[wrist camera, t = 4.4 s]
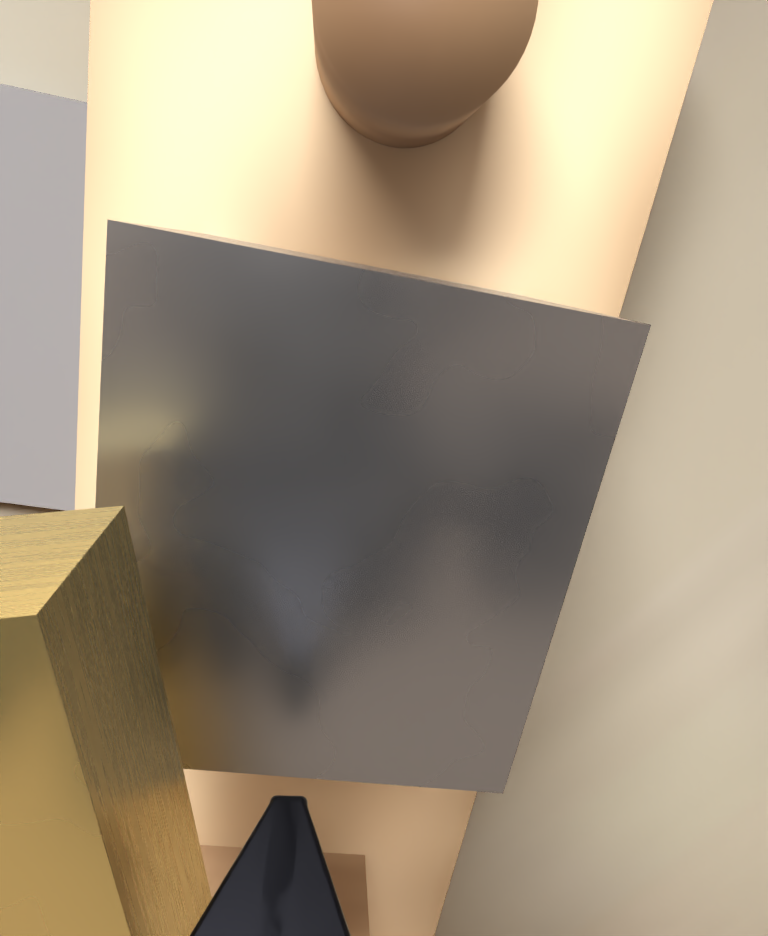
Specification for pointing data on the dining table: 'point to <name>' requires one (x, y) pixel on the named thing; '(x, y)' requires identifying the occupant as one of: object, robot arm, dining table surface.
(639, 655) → the dining table surface
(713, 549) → the dining table surface
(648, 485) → the dining table surface
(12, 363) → the pad
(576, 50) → the body
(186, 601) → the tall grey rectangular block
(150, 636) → the lever
